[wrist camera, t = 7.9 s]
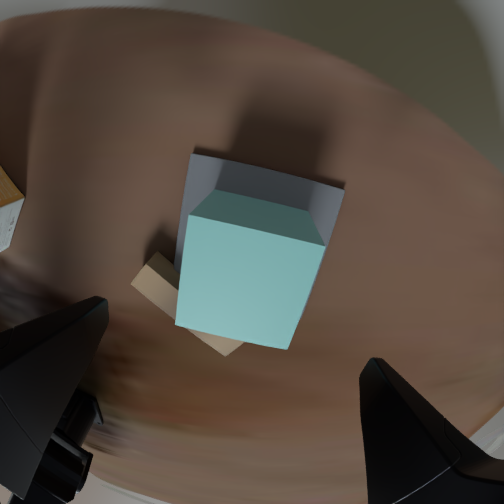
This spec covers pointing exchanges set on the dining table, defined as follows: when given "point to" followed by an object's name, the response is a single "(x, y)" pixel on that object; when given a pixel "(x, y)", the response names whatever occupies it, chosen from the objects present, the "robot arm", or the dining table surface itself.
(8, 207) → the small box
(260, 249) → the teal block
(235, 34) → the dining table surface
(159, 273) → the tan bar
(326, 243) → the coaster
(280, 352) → the dining table surface
